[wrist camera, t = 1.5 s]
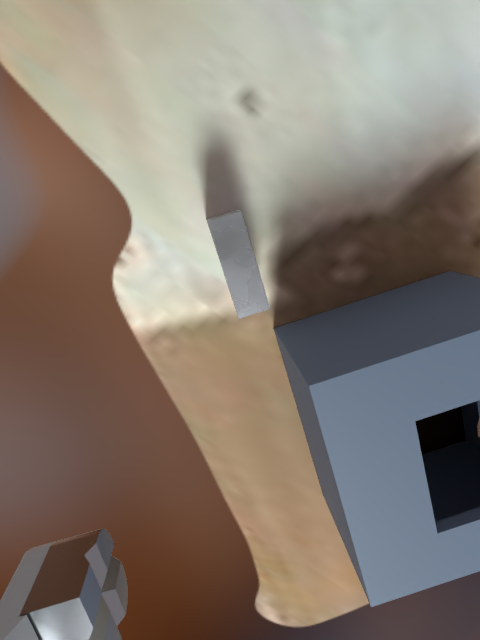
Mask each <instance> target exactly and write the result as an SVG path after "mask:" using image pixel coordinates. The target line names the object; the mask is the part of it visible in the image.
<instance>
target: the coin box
mask: <svg viewBox="0 0 480 640" xmlns="http://www.w3.org/2000/svg"><path fill="white" fill-rule="evenodd" d="M274 331H275V335H276V338H277V341H278V345H279V348H280V351H281V355H282V358H283V361H284V365H285V368H286V372H287V375H288V378H289V382H290V385H291V388H292V392H293V395H294V398H295V402H296V405H297V409H298V412H299V415H300V419H301V422H302V425H303V429H304V432H305V435H306V439H307V442H308V446H309V449H310V452H311V456H312V459H313V462H314V466H315V469H316V472H317V476H318V479H319V483H320V486H321V489H322V493H323V496H324V498H325V500H326V503H327V505H328V507H329V510H330V512H331V514H332V517H333V519H334V521H335V524H336V526H337V528H338V531H339V533H340V535H341V538H342V540H343V542H344V545H345V547H346V549H347V552H348V554H349V556H350V559H351V561H352V563H353V566H354V568H355V570H356V573H357V575H358V577H359V580H360V582H361V584H362V587H363V589H364V591H365V594H366V596H367V598H368V601H369V603H370V605H371V607H373V606H376V605H379V604H382V603H385V602H388V601H391V600H394V599H397V598H400V597H403V596H406V595H409V594H412V593H415V592H418V591H421V590H424V589H427V588H430V587H433V586H436V585H439V584H442V583H445V582H448V581H451V580H454V579H457V578H460V577H463V576H466V575H469V574H472V573H475V572H478V571H480V437H479V436H478V429H477V425H478V421H479V418H480V278H477V277H473V276H469V275H465V274H461V273H457V272H453V271H448V272H445V273H442V274H439V275H436V276H433V277H430V278H427V279H424V280H421V281H417V282H414V283H411V284H408V285H405V286H402V287H399V288H396V289H393V290H390V291H387V292H384V293H381V294H378V295H374V296H371V297H368V298H365V299H362V300H359V301H356V302H353V303H350V304H347V305H344V306H341V307H338V308H335V309H332V310H328V311H325V312H322V313H319V314H316V315H313V316H310V317H307V318H304V319H301V320H298V321H295V322H292V323H289V324H285V325H282V326H279V327H276V328H274ZM460 406H461V410H462V417H463V423H464V429H465V436H466V441H462V442H459V443H456V444H453V445H450V446H447V447H444V448H441V449H438V450H435V451H432V452H429V453H426V454H423V455H422V453H421V448H420V443H419V438H418V433H417V428H416V422H415V421H418V420H421V419H424V418H427V417H430V416H433V415H436V414H439V413H442V412H445V411H448V410H451V409H454V408H457V407H460Z"/></svg>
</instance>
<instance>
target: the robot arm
mask: <svg viewBox="0 0 480 640" xmlns="http://www.w3.org/2000/svg"><path fill="white" fill-rule="evenodd" d="M477 429H478V436H479V437H480V418H479V421H478V425H477ZM113 546H114V543H113V541H112V538H111V536H110V534H109V532H108V531H107V530H105V529H100V530H96V531H92V532H88V533H85V534H81V535H77V536H74V537H70V538H66V539H62V540H59V541H56V542H52V543H49V544H45V545H41V546H38V547H35V548H31V549H30V550H29V551H27V552H26V553H25V554H24V556H23V558H22V560H21V562H20V564H19V566H18V568H17V570H16V572H15V573H14V575H13V577H12V579H11V581H10V583H9V585H8V587H7V589H6V591H5V593H4V595H3V597H2V599H1V601H0V640H121V636H120V633H119V631H118V628H117V626H118V624H119V623H120V622H121V620H122V619H123V617H124V616H125V614H126V608H127V601H128V596H127V595H128V594H127V580H126V575H125V571H124V568H123V566H122V563H121V561H120V560H118V559H116V558H115V557H113V556H111V554H112V550H113Z"/></svg>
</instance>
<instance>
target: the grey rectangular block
mask: <svg viewBox="0 0 480 640" xmlns="http://www.w3.org/2000/svg"><path fill="white" fill-rule="evenodd" d="M206 220H207V223H208V226H209V229H210V232H211V236H212V239H213V242H214V245H215V248H216V251H217V254H218V257H219V260H220V263H221V266H222V270H223V273H224V276H225V279H226V282H227V285H228V288H229V291H230V294H231V297H232V300H233V303H234V306H235V309H236V312H237V315H238V318H239V319H240V318H243V317H246V316H249V315H252V314H255V313H258V312H261V311H264V310H267V309H270V306H269V303H268V300H267V296H266V293H265V290H264V286H263V283H262V279H261V276H260V273H259V269H258V266H257V263H256V259H255V256H254V252H253V249H252V246H251V242H250V239H249V235H248V232H247V229H246V225H245V222H244V219H243V215H242V212H241V211H235V210H234V211H231V212H228V213H225V214H221V215H218V216H215V217H212V218H209V219H206Z"/></svg>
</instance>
